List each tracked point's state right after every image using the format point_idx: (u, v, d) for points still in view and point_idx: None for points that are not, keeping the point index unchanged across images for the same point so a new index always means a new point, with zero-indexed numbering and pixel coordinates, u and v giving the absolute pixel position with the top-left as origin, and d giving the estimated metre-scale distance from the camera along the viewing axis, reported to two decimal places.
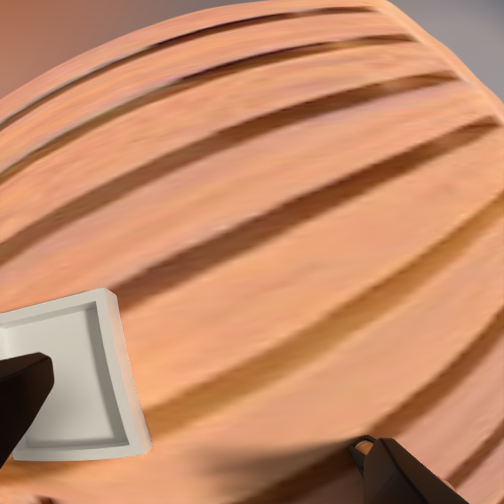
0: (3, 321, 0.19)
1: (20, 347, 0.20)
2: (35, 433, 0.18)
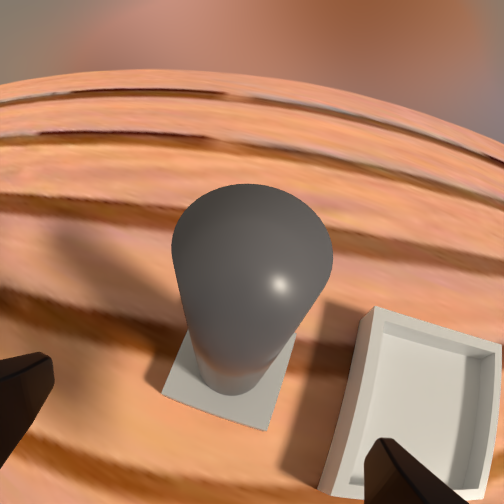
0: (401, 323, 0.18)
1: (388, 360, 0.19)
2: (360, 465, 0.15)
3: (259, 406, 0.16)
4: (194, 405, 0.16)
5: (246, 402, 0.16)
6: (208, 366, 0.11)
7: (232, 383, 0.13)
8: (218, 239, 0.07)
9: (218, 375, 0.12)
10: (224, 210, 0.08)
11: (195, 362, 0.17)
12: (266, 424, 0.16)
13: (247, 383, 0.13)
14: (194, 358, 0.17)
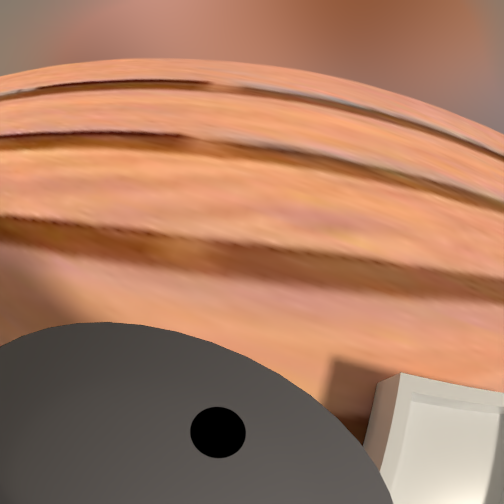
0: (433, 393, 0.12)
1: (411, 435, 0.13)
2: None
3: None
4: None
5: None
6: None
7: None
8: None
9: None
10: (21, 439, 0.01)
11: None
12: None
13: None
14: None
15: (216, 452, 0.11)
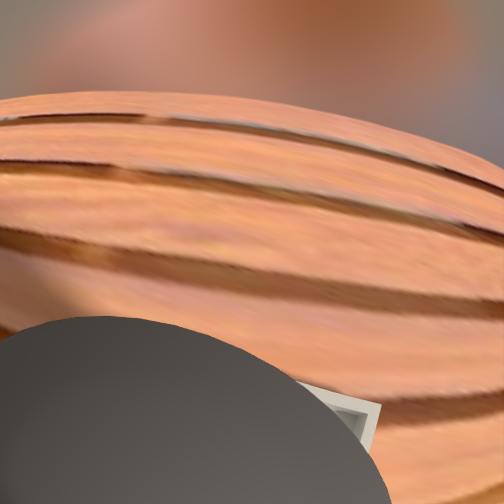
0: None
1: None
2: None
3: None
4: None
5: None
6: None
7: None
8: None
9: None
10: (22, 432, 0.01)
11: None
12: None
13: None
14: None
15: None
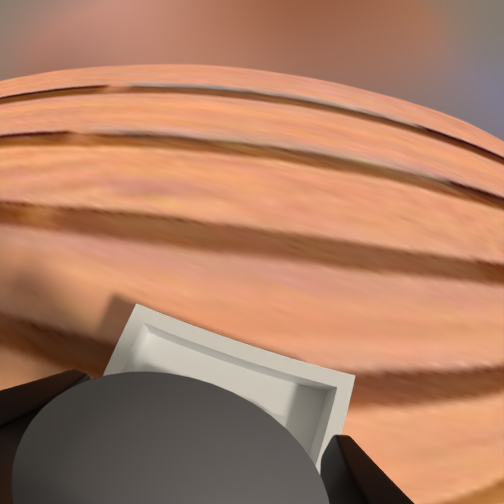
0: (166, 329, 0.15)
1: (162, 372, 0.16)
2: None
3: None
4: None
5: None
6: None
7: None
8: None
9: None
10: (93, 446, 0.03)
11: None
12: None
13: None
14: None
15: None
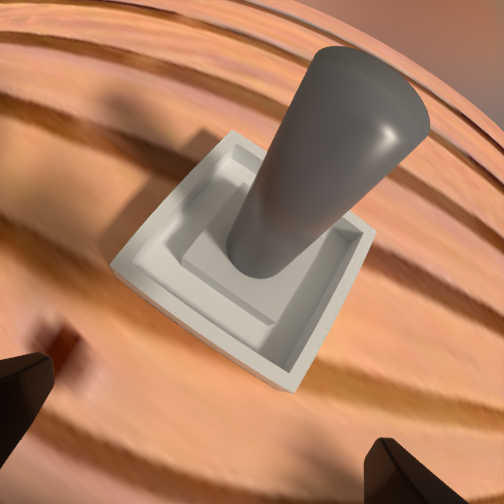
0: (252, 151, 0.20)
1: (233, 186, 0.21)
2: (161, 267, 0.18)
3: (275, 296, 0.17)
4: (212, 277, 0.17)
5: (263, 288, 0.17)
6: (264, 216, 0.12)
7: (273, 248, 0.13)
8: (350, 74, 0.07)
9: (267, 232, 0.13)
10: (353, 61, 0.07)
11: (224, 235, 0.18)
12: (277, 316, 0.17)
13: (284, 255, 0.14)
14: (224, 231, 0.18)
15: None
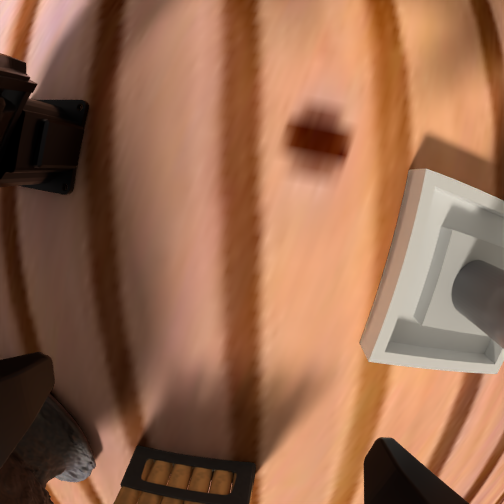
0: None
1: None
2: (434, 209, 0.17)
3: (441, 316, 0.17)
4: (444, 261, 0.16)
5: (445, 305, 0.17)
6: None
7: (489, 317, 0.13)
8: None
9: None
10: None
11: (476, 257, 0.16)
12: (427, 324, 0.17)
13: (484, 325, 0.13)
14: (479, 255, 0.16)
15: None
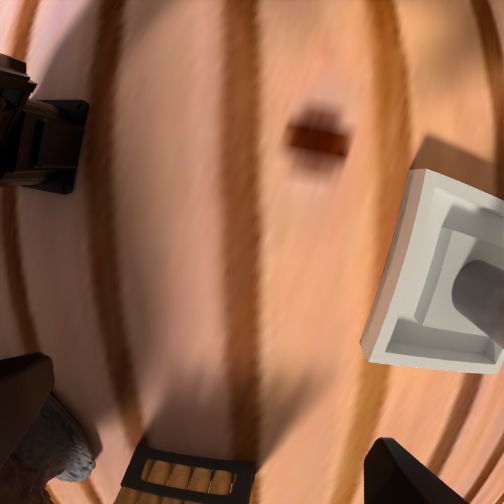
0: None
1: None
2: (434, 210, 0.17)
3: (441, 317, 0.17)
4: (445, 261, 0.16)
5: (445, 305, 0.17)
6: None
7: (490, 317, 0.12)
8: None
9: None
10: None
11: (476, 257, 0.16)
12: (427, 324, 0.17)
13: (484, 325, 0.13)
14: (479, 255, 0.16)
15: None
